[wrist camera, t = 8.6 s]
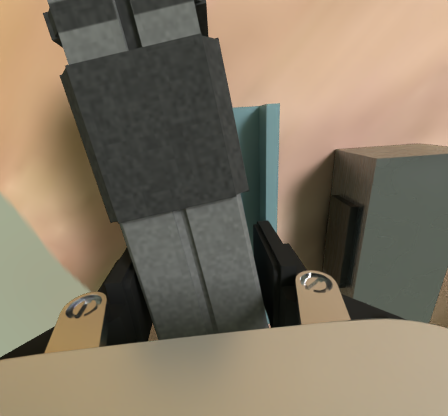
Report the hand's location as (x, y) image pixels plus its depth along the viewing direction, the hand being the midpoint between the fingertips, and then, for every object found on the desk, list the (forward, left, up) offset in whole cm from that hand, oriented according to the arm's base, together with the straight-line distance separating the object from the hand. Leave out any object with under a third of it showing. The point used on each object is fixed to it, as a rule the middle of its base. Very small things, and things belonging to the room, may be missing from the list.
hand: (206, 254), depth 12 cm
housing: (-10, +1, -3) cm, 11 cm away
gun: (0, 0, -2) cm, 2 cm away
